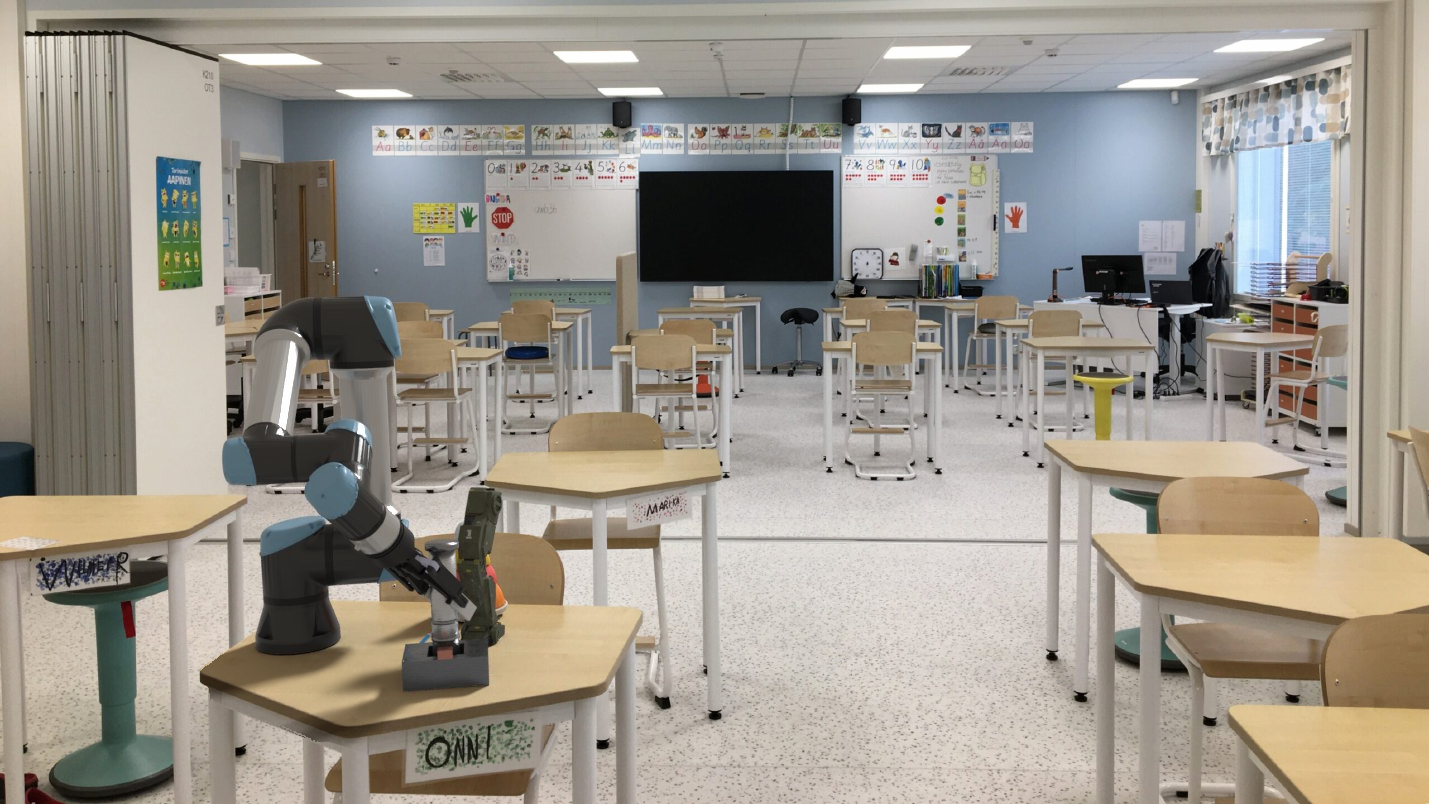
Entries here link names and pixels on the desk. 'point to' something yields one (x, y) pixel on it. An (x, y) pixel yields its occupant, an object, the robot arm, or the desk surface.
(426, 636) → the pencil
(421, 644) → the stand
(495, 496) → the mechanical leg
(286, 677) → the desk surface
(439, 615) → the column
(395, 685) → the desk surface
